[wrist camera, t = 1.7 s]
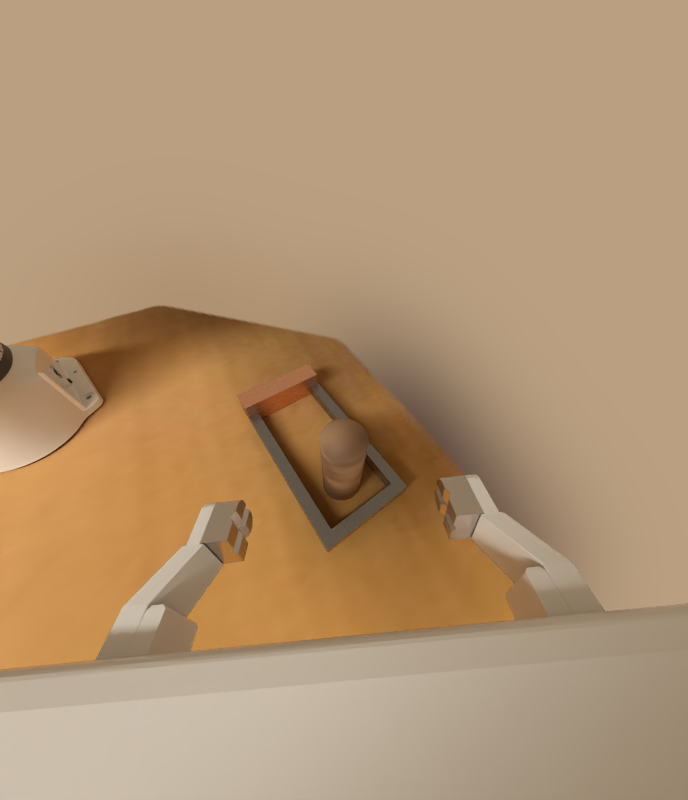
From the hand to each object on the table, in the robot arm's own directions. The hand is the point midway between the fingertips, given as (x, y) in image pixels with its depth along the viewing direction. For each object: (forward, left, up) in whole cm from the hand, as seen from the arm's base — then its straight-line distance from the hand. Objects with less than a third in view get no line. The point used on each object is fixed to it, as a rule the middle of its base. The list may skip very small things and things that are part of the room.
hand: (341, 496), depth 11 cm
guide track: (-14, +6, -24) cm, 28 cm away
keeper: (-7, +6, -24) cm, 26 cm away
